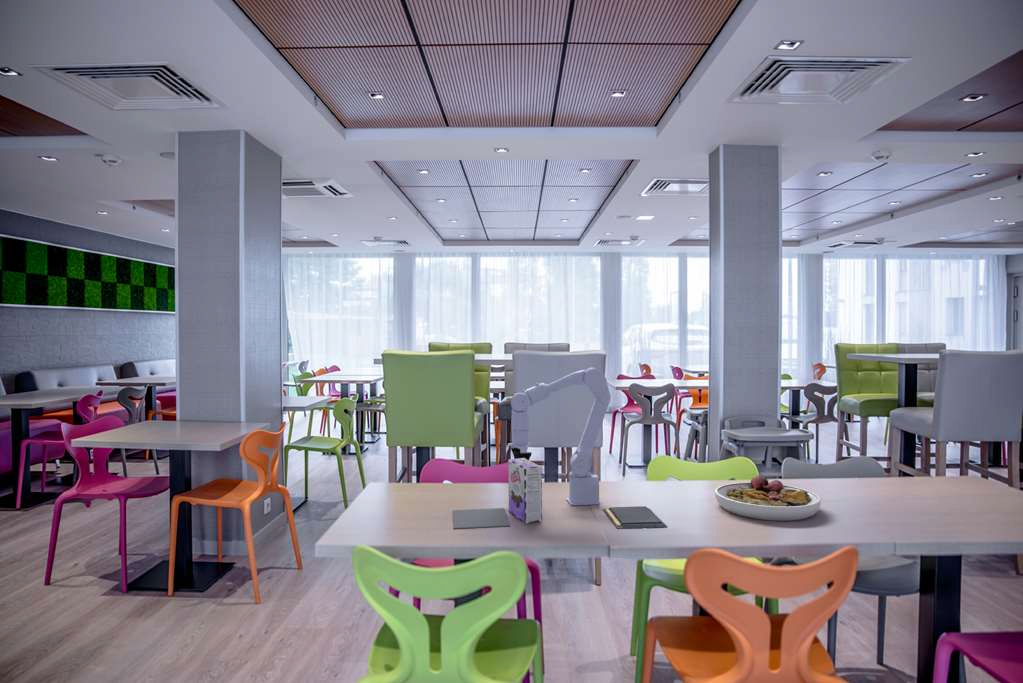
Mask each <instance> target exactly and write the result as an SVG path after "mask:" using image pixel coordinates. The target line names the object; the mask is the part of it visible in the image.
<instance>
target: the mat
mask: <svg viewBox="0 0 1023 683" xmlns="http://www.w3.org/2000/svg"><path fill="white" fill-rule="evenodd" d="M452 518H453V519H452V520H453V530H461V529H462V530H463V529H466V530H467V529H482V528H484V529H485V528H488V529H489V528H508V527H511V524H510V521H509V519H508V515H507V512H506V510H505V508H504V507H499V508H498V507H496V508H473V509H454V510H452Z"/></svg>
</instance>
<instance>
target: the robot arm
mask: <svg viewBox="0 0 1023 683" xmlns="http://www.w3.org/2000/svg"><path fill="white" fill-rule="evenodd" d="M584 384H585V386H587V387H588V388H589V389H590V391H591V394H592V395H593V396H594V401H593V404H592V406H591V410H590V413H589V415H588V417H587V420H586V424H585V426H584V428H583V432H582V435H581V438H580V441H579V444H578V446H577V447H576V449H575V451H574V452H573V453H572V455H571V456H570V459H569V464H570V469H571V471H570V472H569V473H568V474H569V475H568V478H569V479H568V482H569V485H568V488H569V490H568V491H569V492H568V493H569V495H568V496H569V497H566V501H567V502H568V504H569V505H571V506H586V505H587V506H588V505H589V506H591V505H600V480H599V476H598V475H597V474H592V472H591V469H592V468H591V467H592V466H591V465H592V464H591V460H592V457H593V453H594V452H593V451H594V448H595V444H596V442H597V439H598V436H599V433H600V430H601V427H602V424H603V422H604V419H605V415H606V414H607V410H608V407H609V405H610V402H611V399H612V398H611V392H610V390H609V385H608V381H607V377H606V376H605V375H604V373H603V372H602V371H601V370H600V369H598V368H597V367H592V366H591V367H590V366H589V367H588V368H586V369H581V370H577V371H575V372H574V371H573V372H571V373H570V374H568V375H565V376H563V377H560V378H559V379H557V380H555V381H553V382H550V383H547V384H546V383H545V382H536V383H535V384H534V386H532V387H529V388H527V389H525V388H524V389H521V392H517V393H515V394H514V395H513V396H512V398H510V399H511V400H510V407H511V416H510V417H511V421H510V422H511V442H510V443H509V442H508V447H510V450H511V452H512V455H513V459H517V458H525V459H527V460H529V461H530V458H531V456H532V452H531V451H529V452H528V448H529V447H530V446H531V443H530V417H529V410H528V409H529V408H528V407H529V406H531V407H533V406H535V405H538V404H541V403H543V402H545V401H547V400H549V399H550V398H551V395H552V394H554V393H556V392H558V391H562V390H563V389H566V388H568V387H572V386H574V385H575V386H584Z"/></svg>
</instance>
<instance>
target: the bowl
mask: <svg viewBox="0 0 1023 683" xmlns="http://www.w3.org/2000/svg"><path fill="white" fill-rule="evenodd" d="M714 496H715V499H716V501H717V503H718V504H719V505H720V506H721V508H723V509H725V511H728V512H730V513H732V514H735V515H737V516H742V517H746V518H750V519H755V520H760V521H761V520H763V521H774V522H775V521H776V522H786V521H787V522H790V521H792V522H793V521H800V520H805V519H808V518H810V517H812V516H814V515H815V514H816V513H817V512H818V511H819V510H820V507H821V505H822V504H821V501H822V500H821V497H820V496H819V495H818V494H817V493H815V492H813V491H809V490H807V489H804V488H800V487H796V486H791V485H785V484H783V483H782V481H781V480H777V479H775V480H772V481H771V482H769V480H768V479H767V477H765V476H763V475H757V476H755V477H752V478H751V480H750V482H733V483H726V484H723V485H719V486H718V487H716V488H715V490H714Z"/></svg>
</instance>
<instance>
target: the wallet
mask: <svg viewBox="0 0 1023 683" xmlns="http://www.w3.org/2000/svg"><path fill="white" fill-rule="evenodd" d="M602 511H603V512H604V514H605V515H606V516H607V518H608V519H609V520H610V522H611V523H612V525H613V526H614V527H615V529H617V530H639V529H641V530H642V529H643V528H646V529H665V528H666V529H667V528H668V526H667V524H665V522H663V520H661V519H660V518H659V517H658V516H657V515H656V514H655V513H654V512H653V511H652V509H650V508H648V507H647V506H643V505H642V506H641V505H640V506H637V505H636V506H612V507H611V506H610V507H608V508H602Z"/></svg>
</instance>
